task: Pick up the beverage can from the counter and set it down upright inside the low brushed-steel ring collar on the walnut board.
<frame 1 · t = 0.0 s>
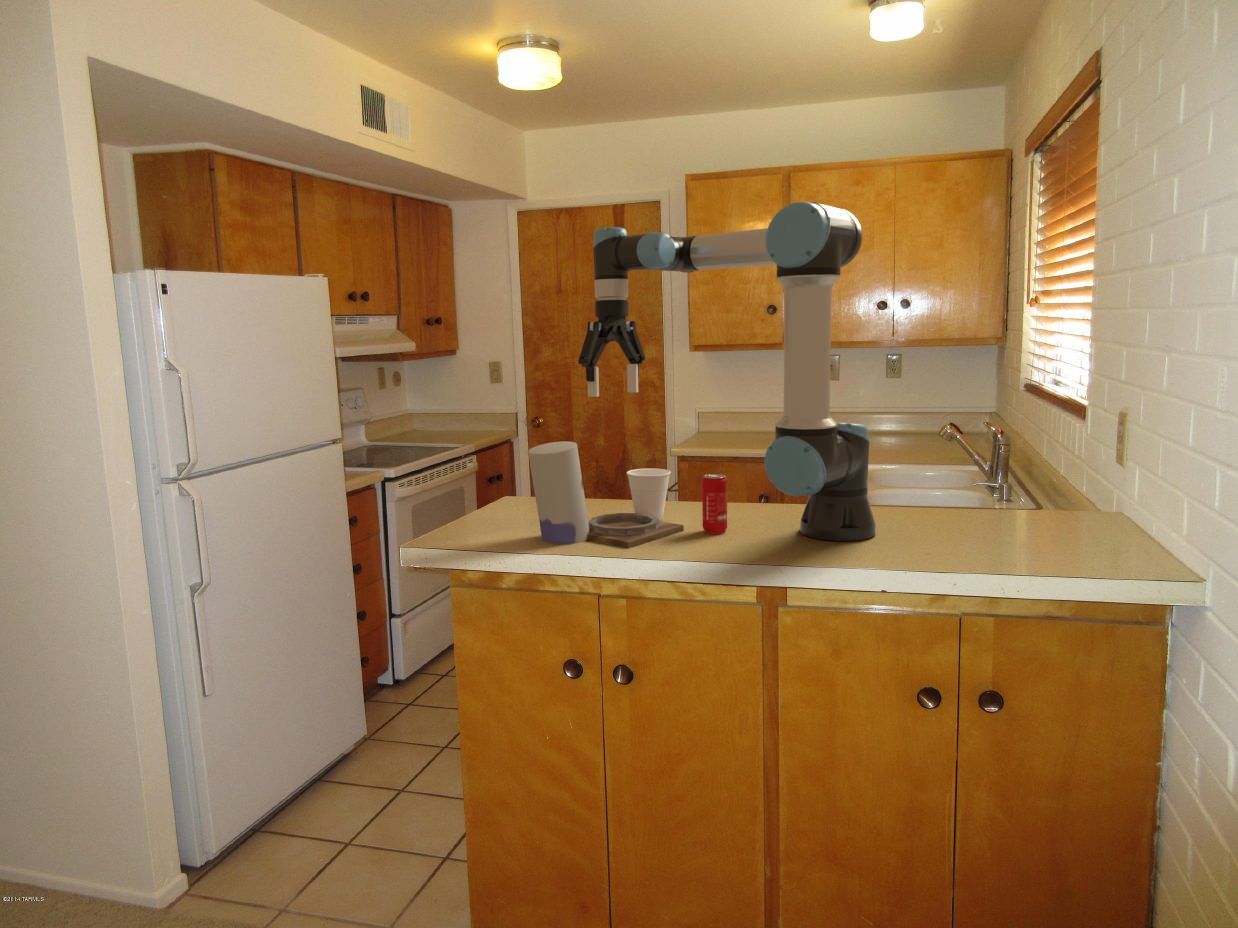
hand: (613, 394, 194), 28 cm above the table, fingers open, 13 cm apart
cup: (649, 520, 192), on the table
collar board: (624, 532, 181), on the table
beverage can: (714, 532, 180), on the table
container: (566, 540, 177), on the table, touching collar board
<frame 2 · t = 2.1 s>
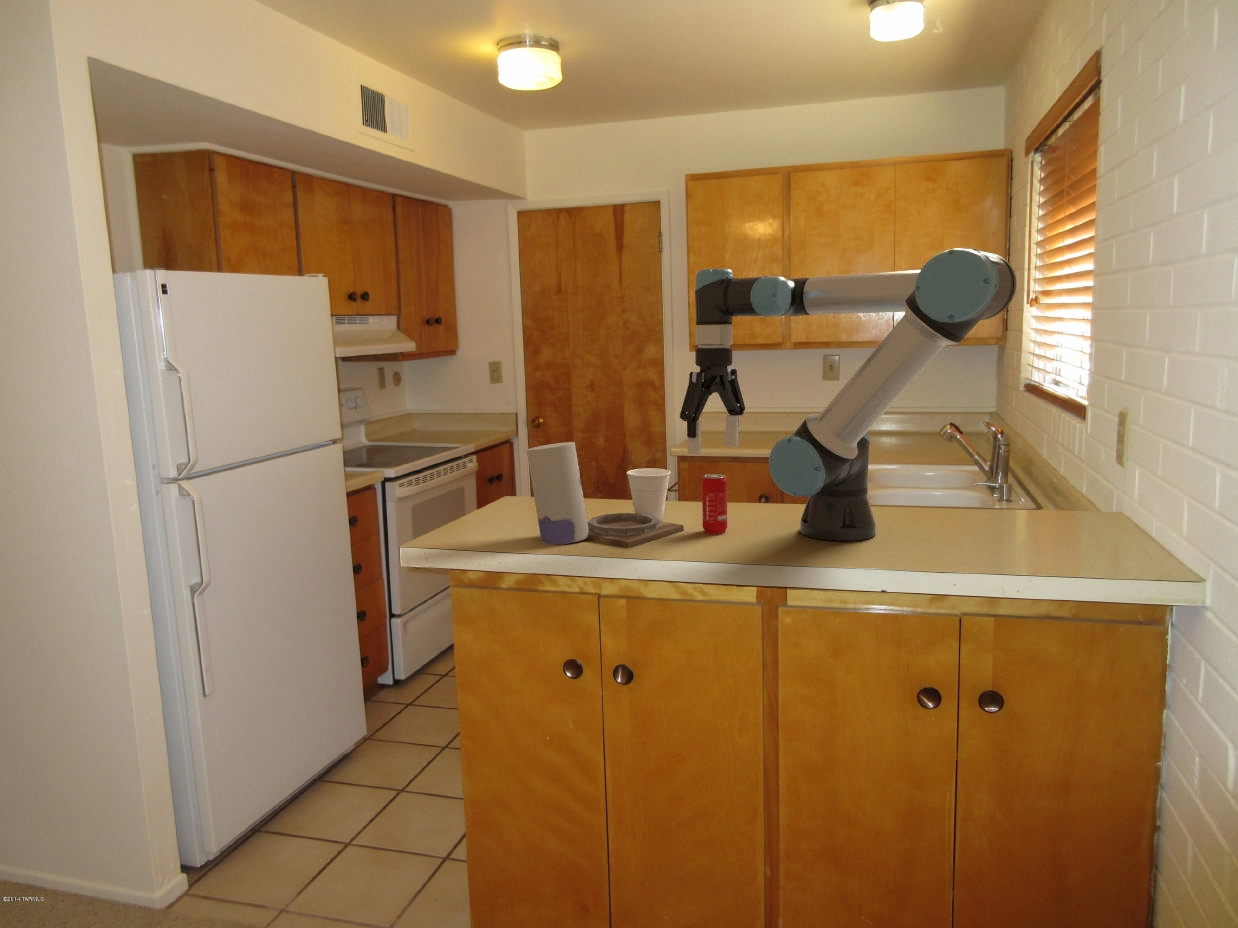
hand: (713, 449, 177), 17 cm above the table, fingers open, 13 cm apart
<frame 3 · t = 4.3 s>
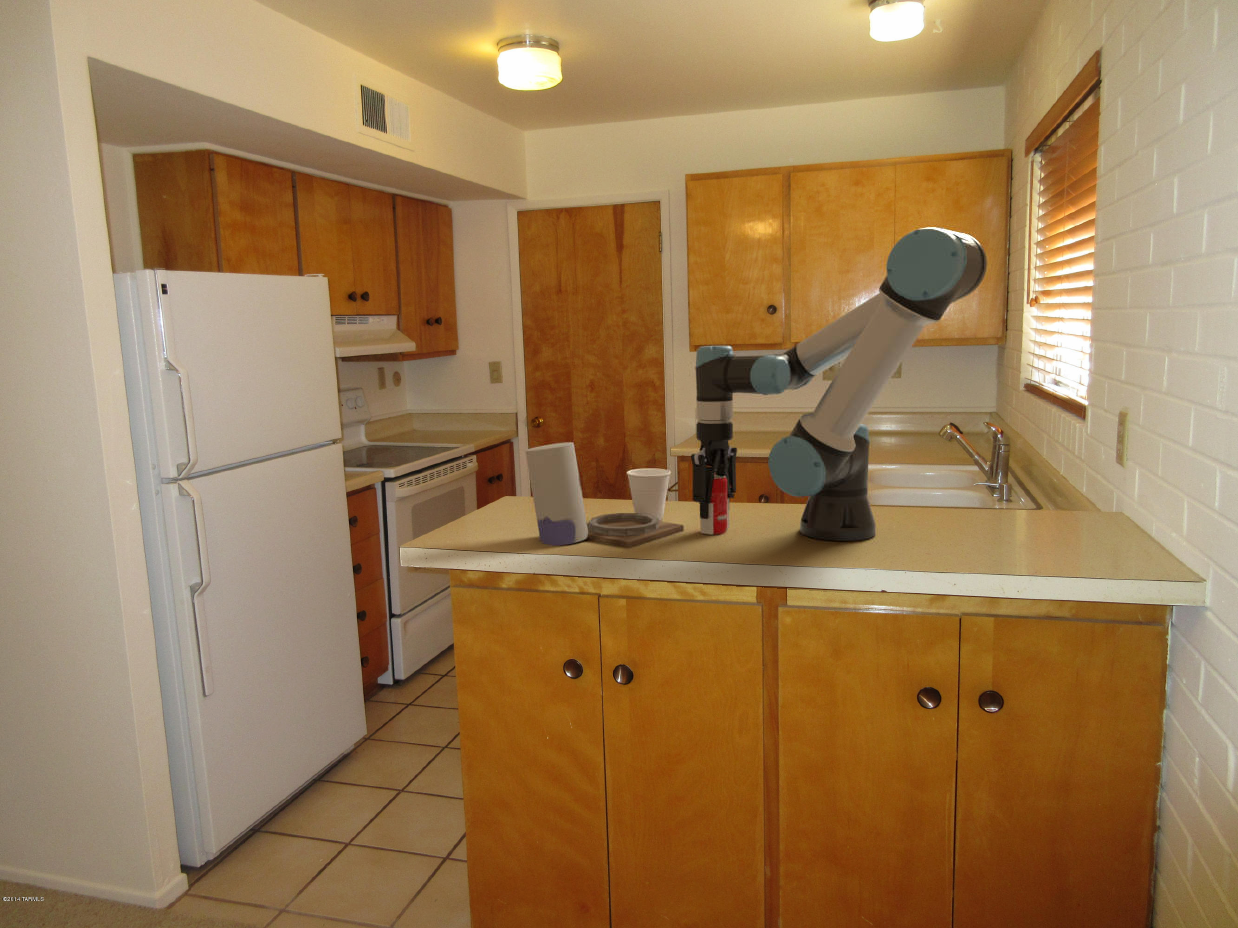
hand: (714, 530, 180), 0 cm above the table, fingers closed on beverage can, 5 cm apart
beverage can: (714, 532, 180), on the table, touching gripper
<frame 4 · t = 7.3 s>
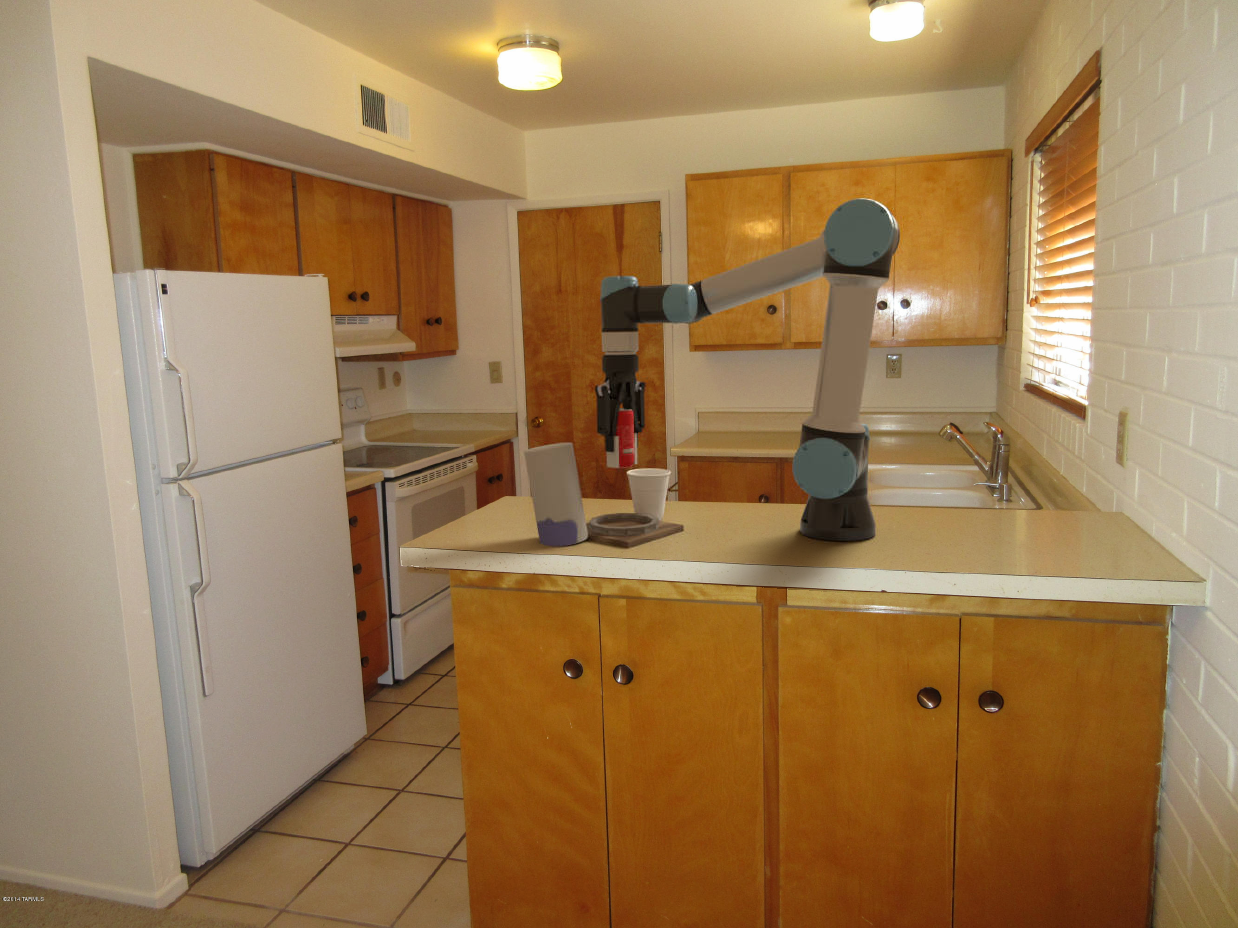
hand: (622, 465, 178), 15 cm above the table, fingers closed on beverage can, 5 cm apart
beverage can: (622, 467, 178), point 14 cm above the table, touching gripper
when the fingers open (4 cm above the table, at t = 9.3 s): beverage can drops 3 cm, resting on collar board.
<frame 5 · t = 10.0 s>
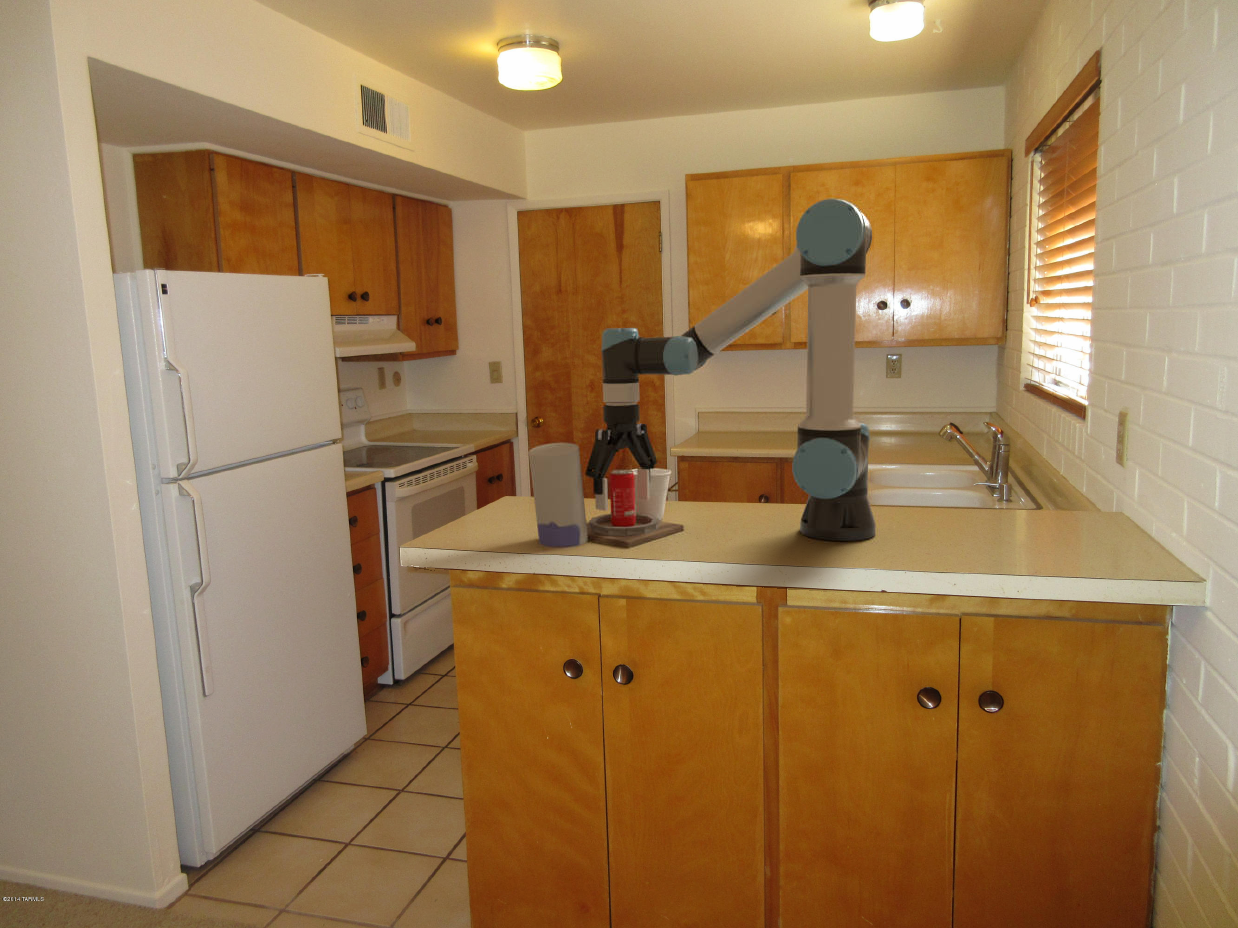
hand: (623, 504, 180), 6 cm above the table, fingers open, 13 cm apart
cup: (649, 520, 192), on the table, touching gripper
beverage can: (623, 528, 180), point 1 cm above the table, touching collar board
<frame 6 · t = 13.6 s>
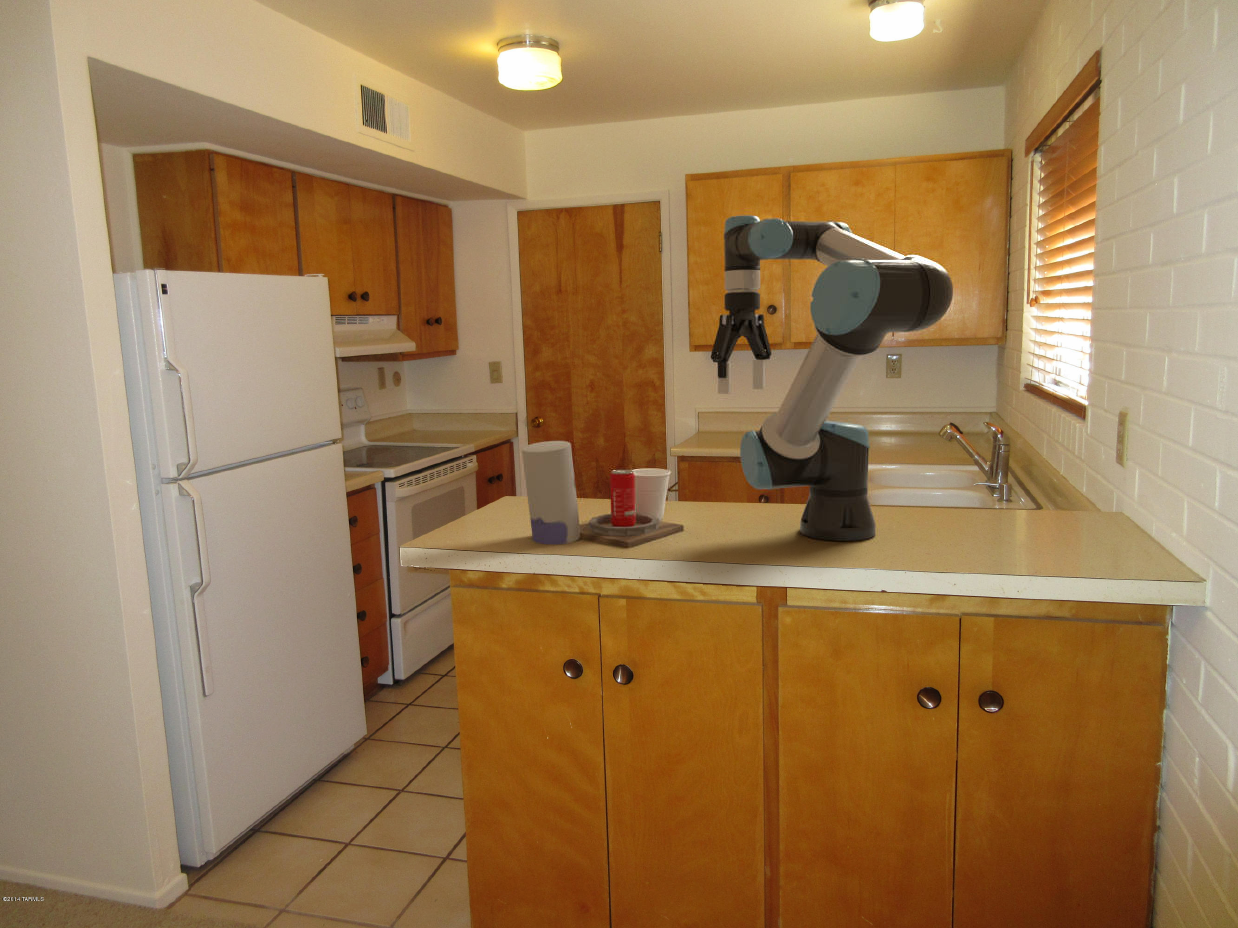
hand: (742, 391, 185), 29 cm above the table, fingers open, 13 cm apart
cup: (649, 520, 192), on the table
container: (557, 539, 177), on the table, touching collar board
everything else where it was.
at the end: beverage can 0.1 cm from the collar board (horizontally); beverage can tilted 0°; beverage can point 1.0 cm above the table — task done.
